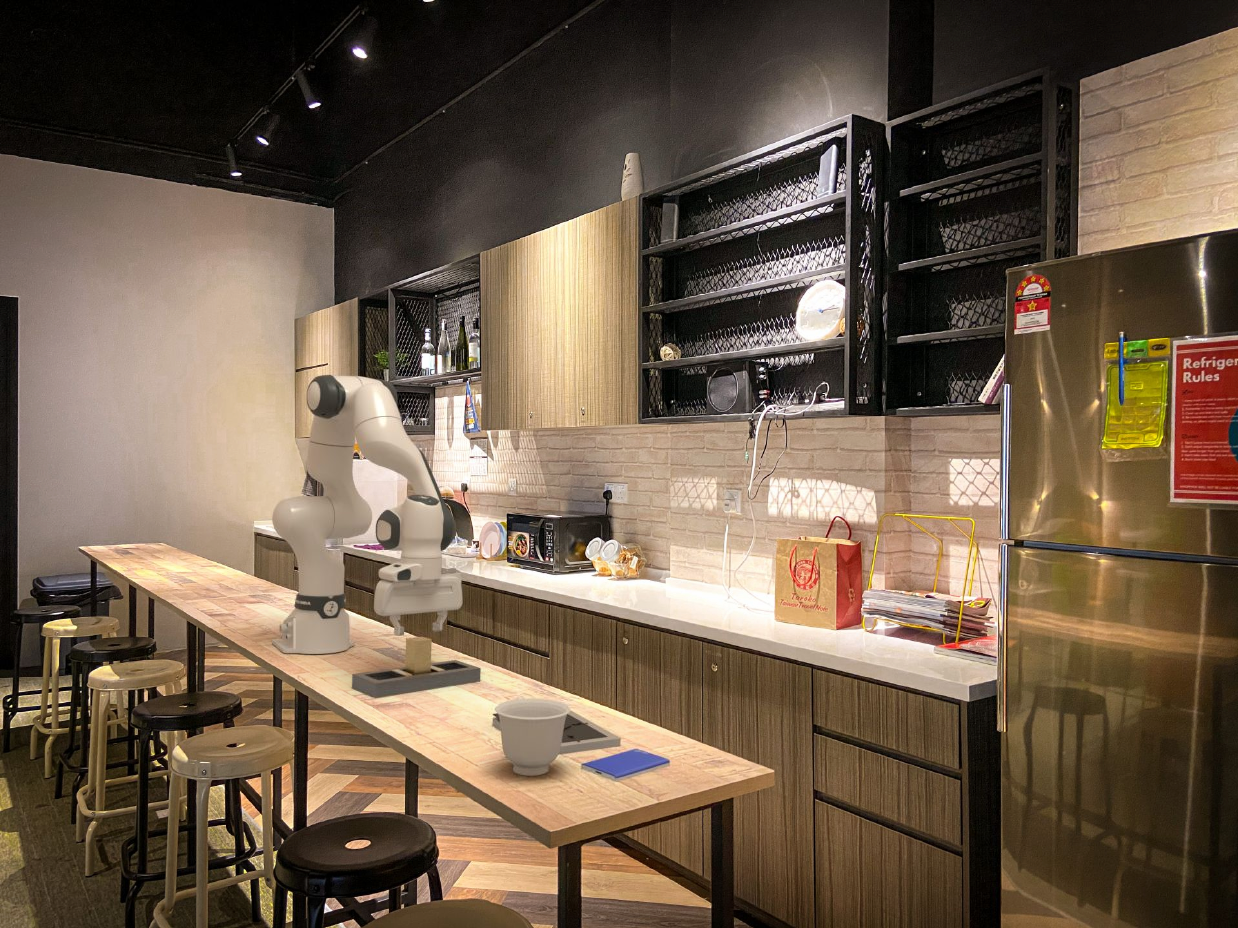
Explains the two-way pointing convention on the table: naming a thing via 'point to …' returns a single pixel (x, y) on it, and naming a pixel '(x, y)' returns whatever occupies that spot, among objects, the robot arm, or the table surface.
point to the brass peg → (418, 655)
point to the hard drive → (626, 764)
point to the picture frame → (580, 735)
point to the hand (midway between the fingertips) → (418, 633)
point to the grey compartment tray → (415, 679)
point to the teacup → (531, 733)
